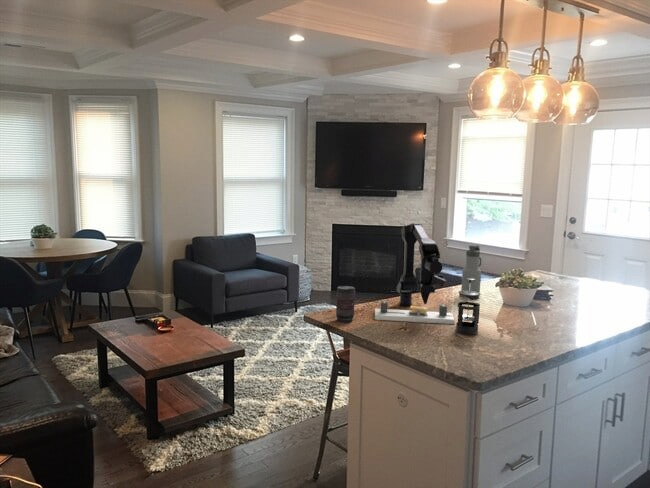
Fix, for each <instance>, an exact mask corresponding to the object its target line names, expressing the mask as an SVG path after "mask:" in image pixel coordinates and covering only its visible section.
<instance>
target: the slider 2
mask: <svg viewBox="0 0 650 488" xmlns="http://www.w3.org/2000/svg"><path fill="white" fill-rule="evenodd" d="M438 312H439V314H440V315H446V316H447V313H448V305H446V304H439V309H438Z"/></svg>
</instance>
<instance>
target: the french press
mask: <svg viewBox="0 0 650 488" xmlns="http://www.w3.org/2000/svg"><path fill="white" fill-rule="evenodd" d="M465 279H466V280H469V283H470V284H471V280H476V279H474V278H465ZM479 295H480V296H481V292H480V293H479V292H475V291H470V285H469V291H461V290H459V291H458V297H463V296H466V297H467V298H466V299H468V301H459V302H457V306H456V307H457V308H458V309H457V310H458V311H457V322H456V323H455V329H454V330H455V331H454V332H455V333H456V334H459V335H463V336H477V335H478V334H479V322H480V321H479V320H480V309H481V308H480V307H481V303H480V302H472V301H477V300H480V296H479ZM470 300H471V301H470ZM464 310H467V314H464ZM469 311H472V315H471V314H469Z"/></svg>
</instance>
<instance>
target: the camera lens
mask: <svg viewBox="0 0 650 488" xmlns="http://www.w3.org/2000/svg"><path fill="white" fill-rule="evenodd" d="M355 300H356V288H355V287H354V286H349V285H340V286H339V285H338V287H337V288H336V309H335V314H336V316H335V317H336V319H337V320H336V321H337V322H339V323H342V324H343V323H345V324H349V323H353V321H354V320H353V319H354V316H355Z"/></svg>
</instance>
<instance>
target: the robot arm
mask: <svg viewBox="0 0 650 488" xmlns="http://www.w3.org/2000/svg"><path fill="white" fill-rule="evenodd" d="M400 234H401V238H402V240H403V242H404V256H403V257H404V259H403V260H404V261H403V273H402V275H401V276H400V279H399V282H398V284H397V286H396V292H397V293H398V294H399V301H398V305H399V306H405V307H410V306H413V303H412V298H413V297H412V296H413V294H416V292H417V290H418V289H419V292H420V296H421V298H422V302H423V304H424V305H427V304H428V300H429V297H430V294H431V293H433V294H434V293H436V287H435V285H436V286H439V287H441V288H444V287H445V284H446V282H447V281H446V279H445V278H444V277H443V274H440V273H441V272H442V271H443V264H442V263H441V261H439V259H440V258H441V253H440V250H439V246H438V245H437V243H436V242H435V241H434V239H431V238H430V237H429V236H428V235H427V233H426V230H425V229H424V228H423V224H422V223H421V222H412V223H410V224H407V225H403V227H401V230H400ZM417 242H418V245H419V246H418V251H419V254H420V259H421V260H420V271H419V274H420V275H419V276H420V277H419V279H417V277H416V276H415V274H414V267H415V266H414V265H415V264H414V261H415V247H416V246H415V245H416V243H417ZM418 286H419V287H418ZM417 288H418V289H417Z"/></svg>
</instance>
